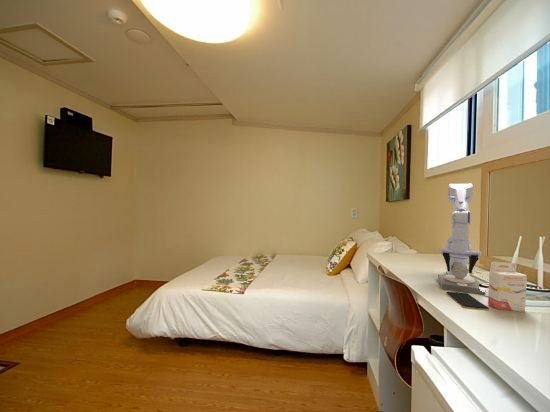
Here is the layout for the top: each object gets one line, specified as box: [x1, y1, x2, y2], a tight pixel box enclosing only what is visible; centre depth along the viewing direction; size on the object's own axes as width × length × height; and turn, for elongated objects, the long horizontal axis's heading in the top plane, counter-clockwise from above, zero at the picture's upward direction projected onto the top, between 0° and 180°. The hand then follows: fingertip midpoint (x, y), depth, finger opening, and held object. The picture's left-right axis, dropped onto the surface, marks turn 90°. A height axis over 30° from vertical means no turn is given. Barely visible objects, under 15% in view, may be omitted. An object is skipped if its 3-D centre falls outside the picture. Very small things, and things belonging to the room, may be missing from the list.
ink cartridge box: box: [487, 261, 528, 312], centre depth 92 cm, size 9×5×15 cm, turn 84°
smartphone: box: [445, 291, 490, 311], centre depth 97 cm, size 7×1×15 cm
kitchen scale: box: [437, 274, 486, 295], centre depth 115 cm, size 16×14×3 cm
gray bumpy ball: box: [451, 261, 469, 279], centre depth 116 cm, size 6×7×7 cm
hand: (459, 272), depth 117 cm, fingers open, 7 cm apart
